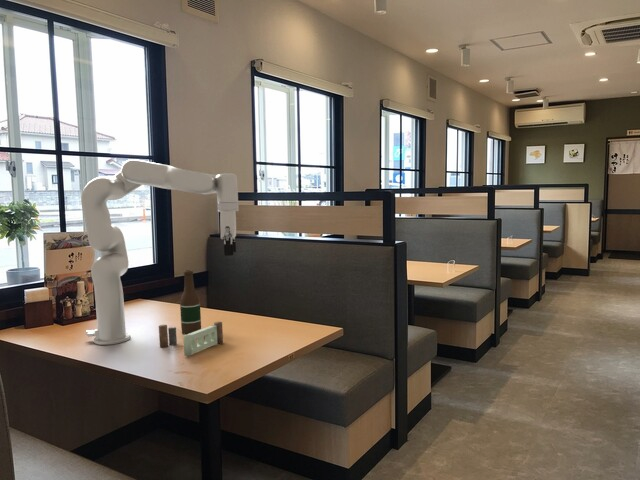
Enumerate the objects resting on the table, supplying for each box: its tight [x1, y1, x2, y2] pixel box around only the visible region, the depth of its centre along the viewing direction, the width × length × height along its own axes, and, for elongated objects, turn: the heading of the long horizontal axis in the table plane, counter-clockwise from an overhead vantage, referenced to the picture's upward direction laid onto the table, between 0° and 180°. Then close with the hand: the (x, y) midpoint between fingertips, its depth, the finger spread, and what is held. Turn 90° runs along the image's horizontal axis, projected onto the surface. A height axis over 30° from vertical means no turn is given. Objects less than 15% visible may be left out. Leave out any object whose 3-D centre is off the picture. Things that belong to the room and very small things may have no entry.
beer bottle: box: [179, 269, 202, 335], centre depth 192 cm, size 8×8×24 cm
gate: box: [182, 324, 218, 357], centre depth 169 cm, size 15×2×6 cm, turn 151°
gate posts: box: [158, 321, 224, 349], centre depth 177 cm, size 22×4×8 cm, turn 96°
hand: (230, 253), depth 185 cm, fingers open, 9 cm apart
